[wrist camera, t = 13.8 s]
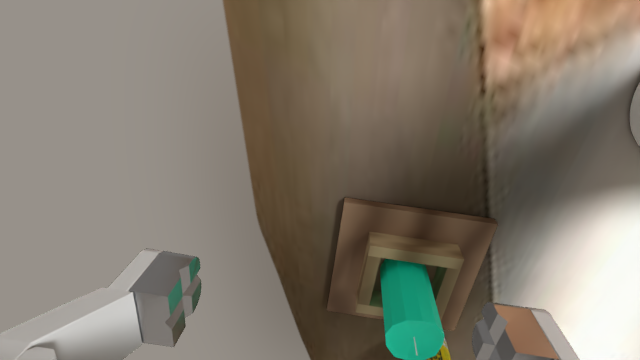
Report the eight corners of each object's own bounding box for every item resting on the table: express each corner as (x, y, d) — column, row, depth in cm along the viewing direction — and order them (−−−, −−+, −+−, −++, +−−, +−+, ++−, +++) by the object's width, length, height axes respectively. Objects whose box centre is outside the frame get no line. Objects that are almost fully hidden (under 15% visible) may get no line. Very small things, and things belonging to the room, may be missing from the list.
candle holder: (494, 218, 41) (507, 238, 37) (451, 323, 49) (459, 348, 45) (344, 197, 42) (343, 214, 38) (327, 304, 50) (325, 327, 46)
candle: (403, 296, 46) (417, 382, 35) (369, 272, 45) (373, 354, 34) (436, 270, 43) (462, 355, 33) (401, 244, 42) (416, 323, 32)
